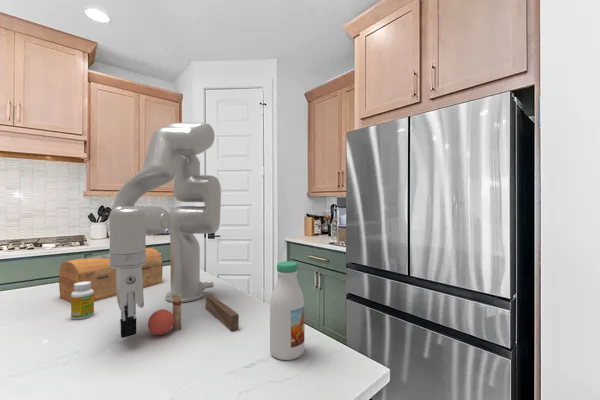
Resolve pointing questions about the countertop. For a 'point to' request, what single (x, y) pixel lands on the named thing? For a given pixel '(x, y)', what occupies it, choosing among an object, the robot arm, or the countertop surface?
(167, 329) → the ball
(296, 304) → the milk bottle
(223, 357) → the countertop surface
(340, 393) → the countertop surface
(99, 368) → the countertop surface
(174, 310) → the pin
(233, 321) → the wall
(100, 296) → the wooden box
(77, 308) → the supplement bottle
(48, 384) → the countertop surface
